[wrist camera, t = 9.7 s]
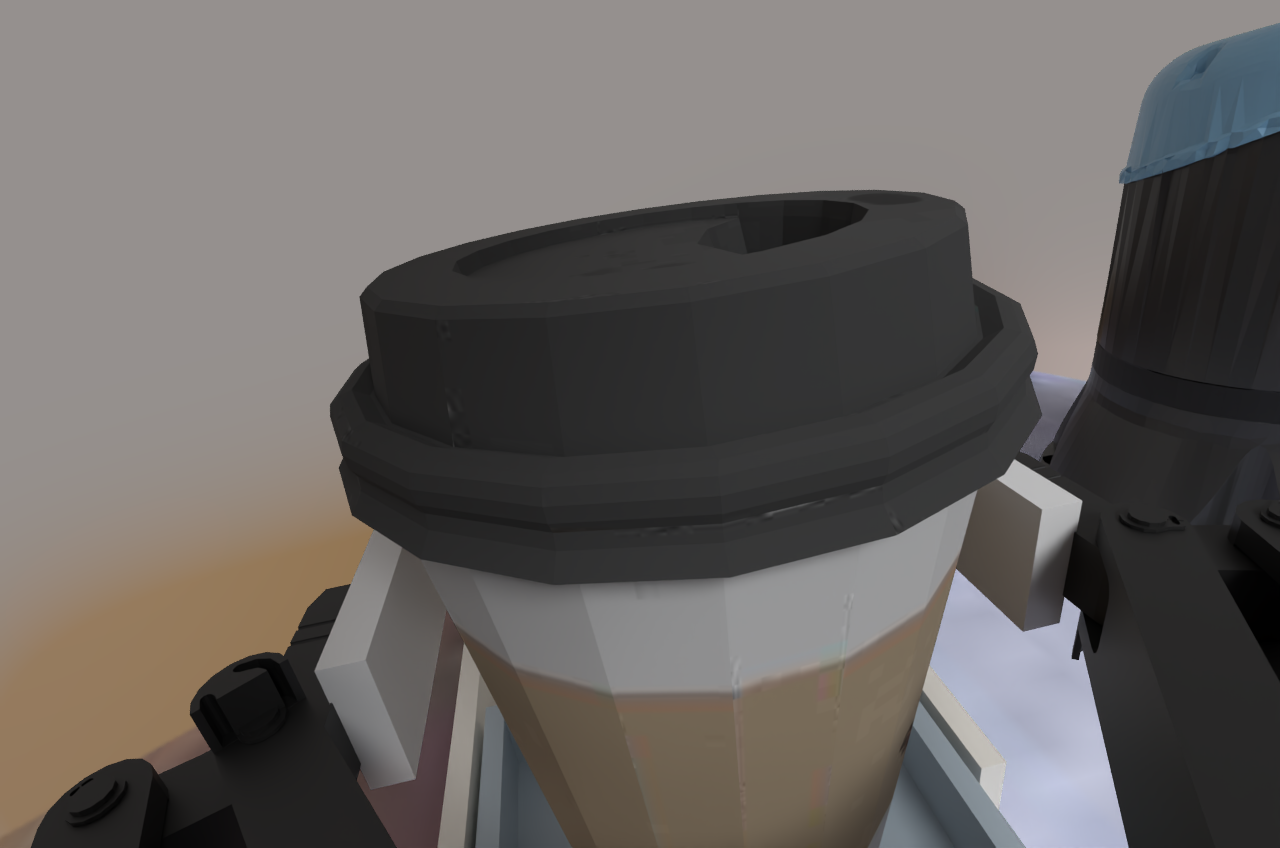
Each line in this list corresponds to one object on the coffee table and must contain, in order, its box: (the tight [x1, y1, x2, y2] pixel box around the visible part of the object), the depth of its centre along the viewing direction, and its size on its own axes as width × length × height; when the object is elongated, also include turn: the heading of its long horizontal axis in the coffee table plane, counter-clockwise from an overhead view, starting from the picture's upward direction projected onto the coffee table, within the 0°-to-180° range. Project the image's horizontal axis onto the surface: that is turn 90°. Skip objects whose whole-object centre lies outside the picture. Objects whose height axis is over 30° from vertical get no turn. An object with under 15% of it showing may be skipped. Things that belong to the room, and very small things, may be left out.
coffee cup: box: [330, 190, 1042, 848], centre depth 13 cm, size 11×11×15 cm
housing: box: [438, 643, 1006, 848], centre depth 25 cm, size 17×16×4 cm
